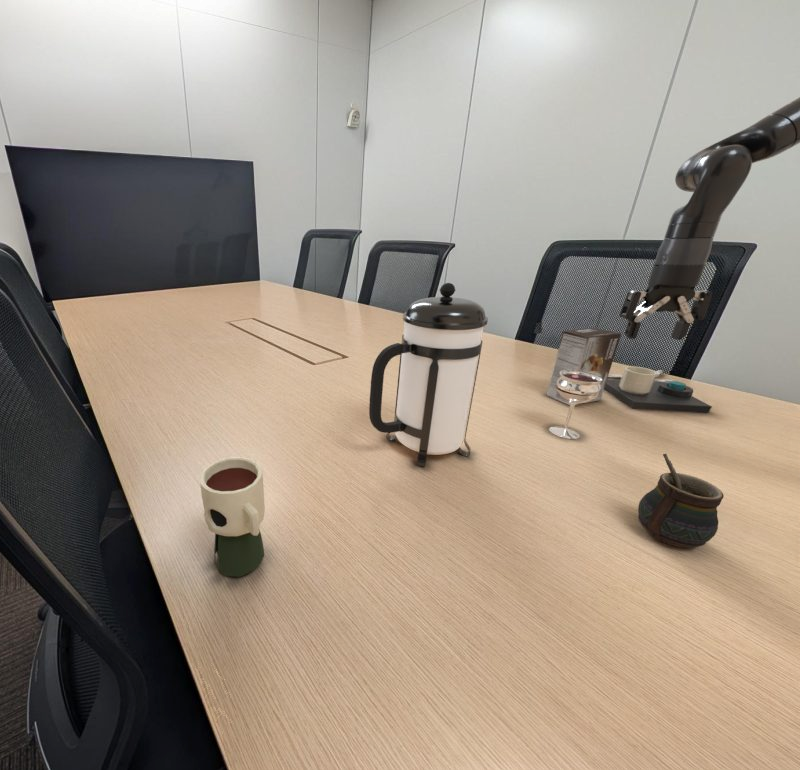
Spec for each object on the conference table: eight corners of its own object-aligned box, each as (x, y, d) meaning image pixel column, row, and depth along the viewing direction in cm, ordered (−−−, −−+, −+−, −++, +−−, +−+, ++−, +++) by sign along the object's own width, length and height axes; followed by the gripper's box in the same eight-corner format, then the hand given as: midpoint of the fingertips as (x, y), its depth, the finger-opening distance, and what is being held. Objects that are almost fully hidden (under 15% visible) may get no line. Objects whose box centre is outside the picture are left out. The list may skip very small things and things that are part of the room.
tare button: (678, 386, 86) (680, 381, 86) (686, 391, 84) (689, 385, 83) (665, 385, 87) (667, 380, 86) (673, 390, 84) (675, 384, 84)
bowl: (639, 386, 89) (646, 367, 87) (655, 395, 84) (663, 375, 83) (613, 385, 91) (619, 365, 89) (626, 394, 86) (634, 374, 84)
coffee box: (574, 390, 92) (593, 326, 86) (601, 400, 86) (623, 333, 80) (545, 395, 90) (562, 330, 84) (570, 406, 84) (590, 337, 78)
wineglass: (579, 445, 69) (598, 385, 65) (538, 431, 74) (553, 375, 70) (590, 433, 73) (609, 376, 69) (550, 421, 78) (566, 367, 74)
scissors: (691, 385, 91) (598, 379, 95) (690, 387, 92) (597, 382, 96) (661, 370, 101) (577, 366, 105) (660, 372, 101) (577, 368, 105)
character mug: (197, 544, 50) (184, 462, 45) (244, 522, 53) (237, 443, 48) (233, 606, 41) (222, 514, 36) (287, 575, 45) (283, 486, 40)
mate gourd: (681, 563, 45) (716, 495, 41) (615, 520, 52) (639, 459, 48) (721, 548, 47) (758, 483, 43) (652, 509, 54) (678, 449, 50)
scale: (664, 388, 92) (669, 376, 91) (710, 413, 80) (716, 400, 78) (598, 384, 95) (601, 373, 94) (632, 408, 82) (636, 396, 81)
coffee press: (393, 420, 80) (406, 275, 69) (474, 438, 73) (504, 279, 61) (364, 460, 67) (375, 288, 55) (461, 487, 59) (497, 295, 47)
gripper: (707, 259, 78) (678, 335, 84) (628, 260, 81) (606, 333, 87) (738, 262, 71) (705, 344, 78) (651, 263, 74) (625, 342, 81)
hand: (653, 338), depth 82 cm, fingers open, 8 cm apart
